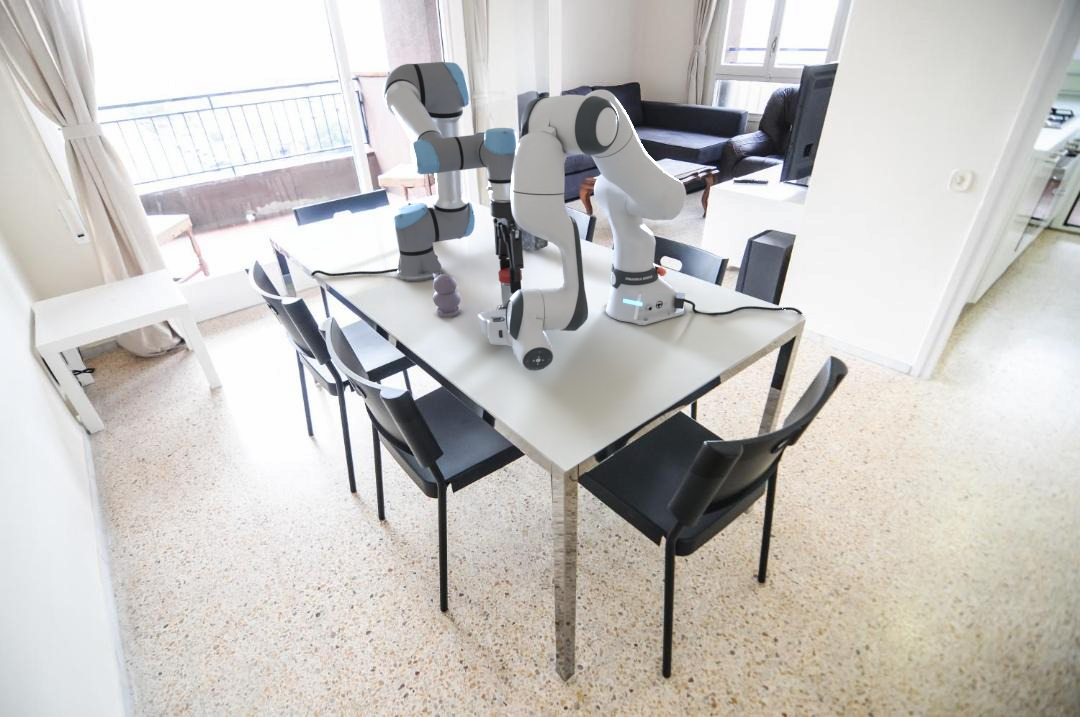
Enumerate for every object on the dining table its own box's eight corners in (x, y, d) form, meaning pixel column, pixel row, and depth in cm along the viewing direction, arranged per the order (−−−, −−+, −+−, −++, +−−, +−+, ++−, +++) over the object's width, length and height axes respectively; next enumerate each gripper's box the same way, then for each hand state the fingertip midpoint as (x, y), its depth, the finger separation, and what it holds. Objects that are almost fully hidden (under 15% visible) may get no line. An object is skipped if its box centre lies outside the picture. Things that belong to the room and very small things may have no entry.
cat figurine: (468, 312, 148) (463, 274, 142) (447, 321, 143) (441, 282, 137) (450, 304, 153) (445, 267, 147) (429, 313, 148) (423, 275, 142)
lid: (494, 282, 130) (494, 274, 128) (505, 273, 134) (504, 266, 133) (515, 285, 127) (515, 277, 126) (526, 276, 132) (525, 269, 131)
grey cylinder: (500, 330, 138) (496, 277, 130) (511, 322, 142) (507, 270, 133) (516, 334, 135) (513, 281, 127) (527, 326, 139) (524, 273, 131)
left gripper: (477, 192, 126) (485, 278, 138) (504, 210, 111) (511, 303, 123) (505, 189, 129) (510, 273, 141) (535, 205, 114) (538, 297, 126)
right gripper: (562, 311, 125) (548, 290, 136) (481, 323, 121) (474, 300, 132) (562, 333, 128) (548, 310, 139) (484, 345, 124) (476, 321, 135)
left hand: (511, 287), depth 132 cm, fingers closed on lid, 6 cm apart
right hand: (511, 305), depth 136 cm, fingers closed on grey cylinder, 5 cm apart
